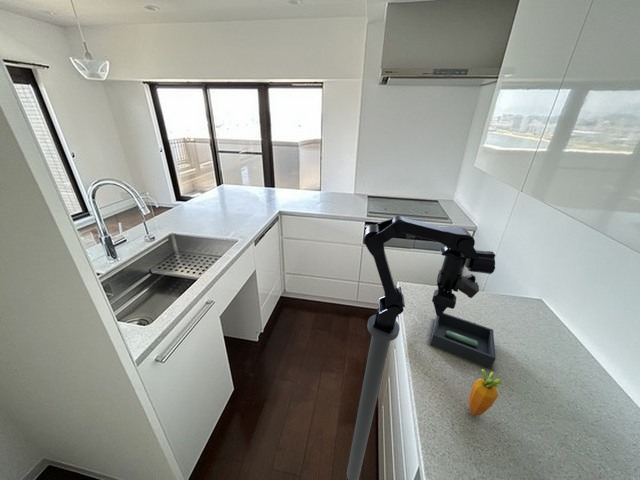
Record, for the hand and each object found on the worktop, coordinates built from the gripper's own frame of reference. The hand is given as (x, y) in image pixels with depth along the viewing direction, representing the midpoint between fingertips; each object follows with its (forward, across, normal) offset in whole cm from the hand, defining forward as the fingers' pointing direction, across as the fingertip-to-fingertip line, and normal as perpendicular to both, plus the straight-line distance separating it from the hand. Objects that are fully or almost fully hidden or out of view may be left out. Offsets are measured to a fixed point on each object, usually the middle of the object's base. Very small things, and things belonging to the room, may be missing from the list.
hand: (439, 307), depth 86 cm
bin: (+11, 0, -9) cm, 14 cm away
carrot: (+11, -25, -13) cm, 30 cm away
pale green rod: (+10, 0, -9) cm, 14 cm away
